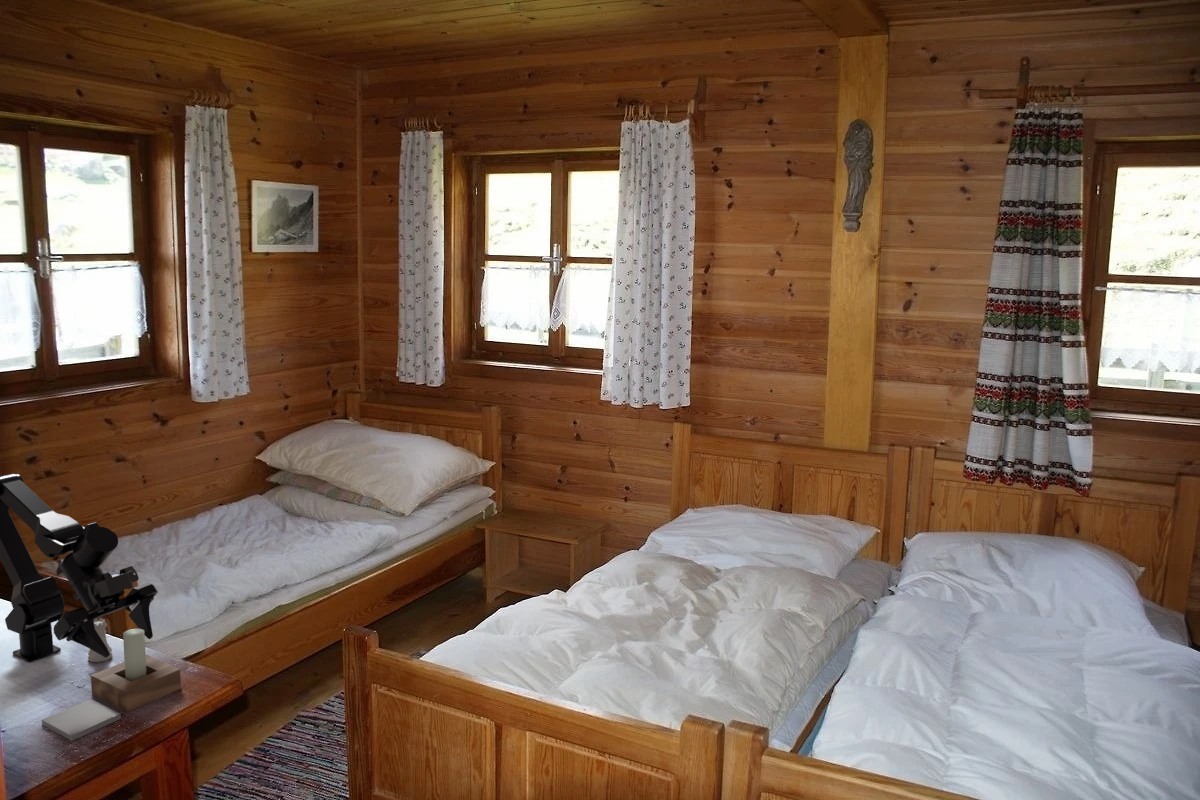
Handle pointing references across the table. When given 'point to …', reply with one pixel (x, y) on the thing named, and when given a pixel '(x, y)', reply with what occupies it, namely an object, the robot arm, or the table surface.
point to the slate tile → (81, 719)
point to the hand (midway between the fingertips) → (130, 646)
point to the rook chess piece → (101, 632)
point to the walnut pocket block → (135, 684)
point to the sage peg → (134, 654)
